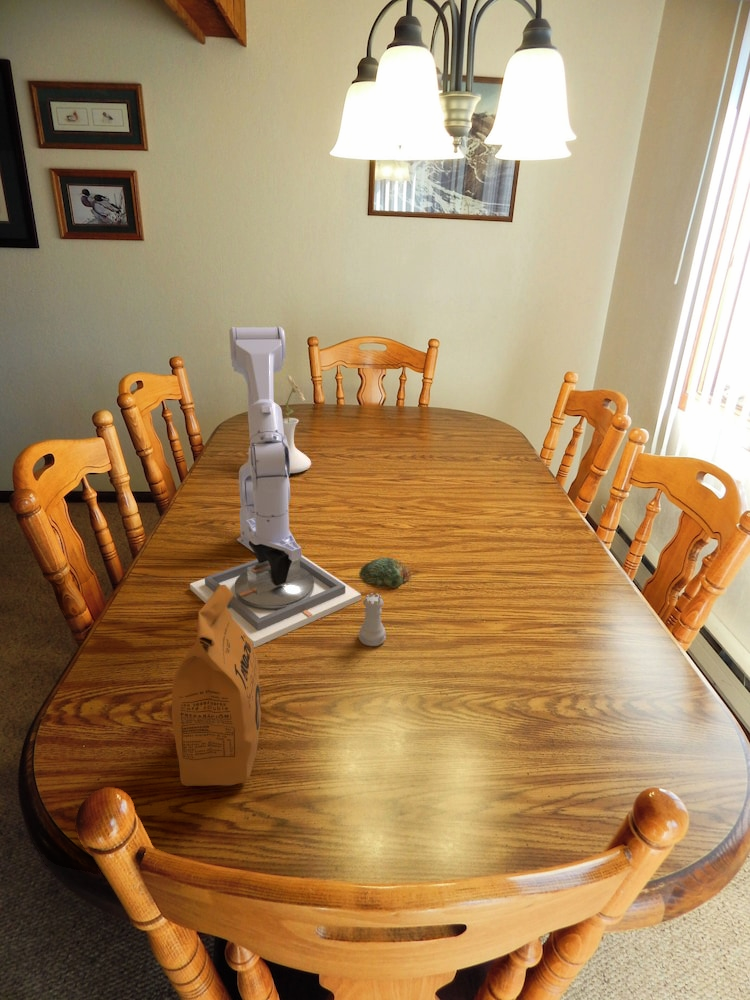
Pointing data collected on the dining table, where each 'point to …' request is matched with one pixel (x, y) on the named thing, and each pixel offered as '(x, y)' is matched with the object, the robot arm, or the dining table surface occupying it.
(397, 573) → the seashell
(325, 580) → the dial panel
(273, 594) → the dial
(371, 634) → the rook chess piece
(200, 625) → the coffee package
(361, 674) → the dining table surface
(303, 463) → the flower in vase
